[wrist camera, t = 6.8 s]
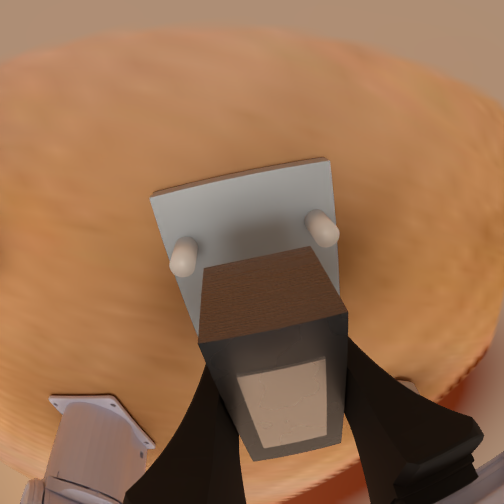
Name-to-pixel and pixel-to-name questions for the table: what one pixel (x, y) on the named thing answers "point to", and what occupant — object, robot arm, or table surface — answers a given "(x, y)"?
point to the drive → (277, 350)
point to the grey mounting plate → (247, 221)
